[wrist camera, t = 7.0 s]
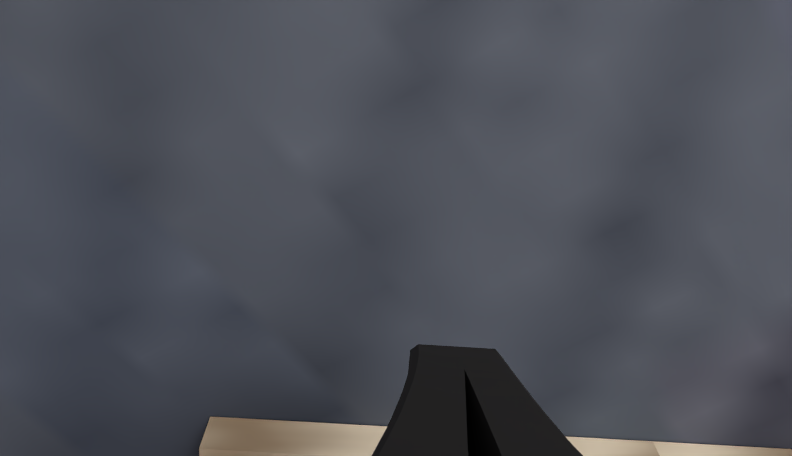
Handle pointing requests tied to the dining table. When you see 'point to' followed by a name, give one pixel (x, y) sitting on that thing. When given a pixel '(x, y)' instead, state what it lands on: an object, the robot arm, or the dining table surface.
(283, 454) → the birch deck
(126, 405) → the dining table surface
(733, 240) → the dining table surface
